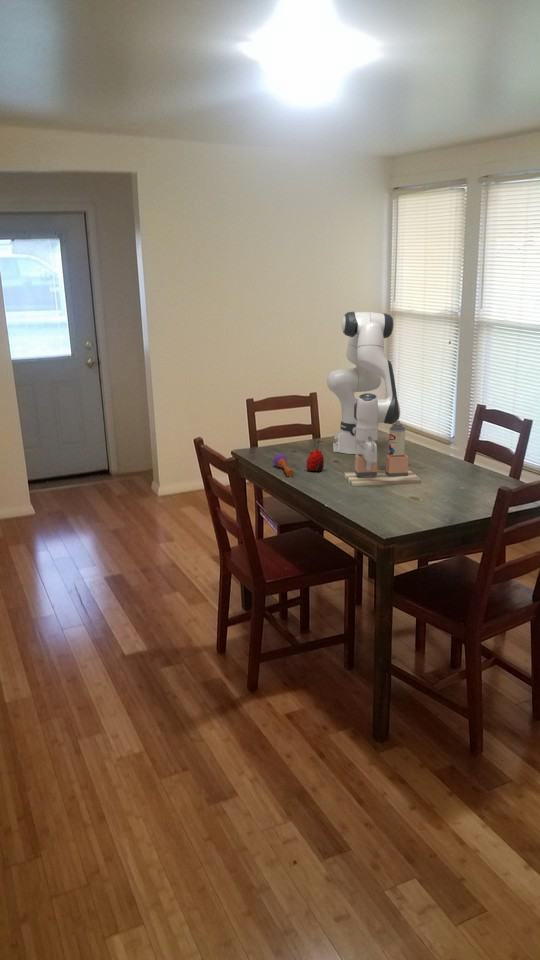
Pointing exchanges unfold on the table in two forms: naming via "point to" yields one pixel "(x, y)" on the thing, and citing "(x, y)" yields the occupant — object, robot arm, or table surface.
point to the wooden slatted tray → (380, 479)
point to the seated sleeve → (397, 465)
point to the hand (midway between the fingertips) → (366, 467)
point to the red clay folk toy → (315, 460)
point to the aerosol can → (396, 439)
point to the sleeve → (364, 467)
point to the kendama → (283, 464)
